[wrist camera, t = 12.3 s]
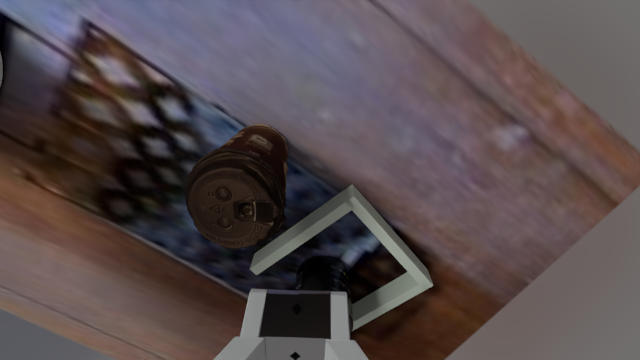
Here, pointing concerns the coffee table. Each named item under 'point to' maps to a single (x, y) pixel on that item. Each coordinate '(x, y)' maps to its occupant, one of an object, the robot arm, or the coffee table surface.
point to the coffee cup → (240, 188)
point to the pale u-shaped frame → (354, 200)
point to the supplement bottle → (325, 278)
